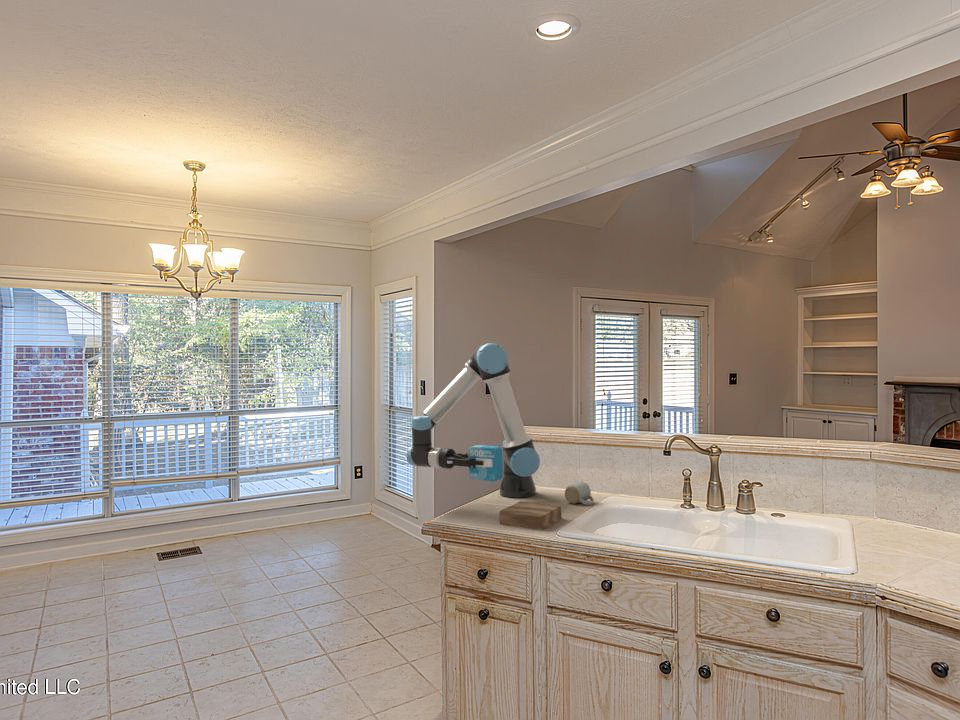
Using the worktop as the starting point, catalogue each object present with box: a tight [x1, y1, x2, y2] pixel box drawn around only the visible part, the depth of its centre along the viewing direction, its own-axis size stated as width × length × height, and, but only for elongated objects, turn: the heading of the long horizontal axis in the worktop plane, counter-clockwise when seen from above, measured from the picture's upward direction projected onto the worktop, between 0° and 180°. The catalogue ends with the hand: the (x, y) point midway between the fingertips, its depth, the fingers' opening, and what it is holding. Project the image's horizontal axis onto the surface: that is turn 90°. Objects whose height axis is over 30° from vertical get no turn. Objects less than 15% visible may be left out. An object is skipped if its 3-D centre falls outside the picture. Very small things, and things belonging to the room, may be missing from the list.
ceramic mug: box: [564, 480, 595, 506], centre depth 236 cm, size 11×8×8 cm
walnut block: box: [499, 500, 563, 531], centre depth 212 cm, size 16×16×5 cm
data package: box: [467, 444, 504, 482], centre depth 221 cm, size 12×4×12 cm, turn 58°
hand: (495, 462), depth 219 cm, fingers closed on data package, 4 cm apart
